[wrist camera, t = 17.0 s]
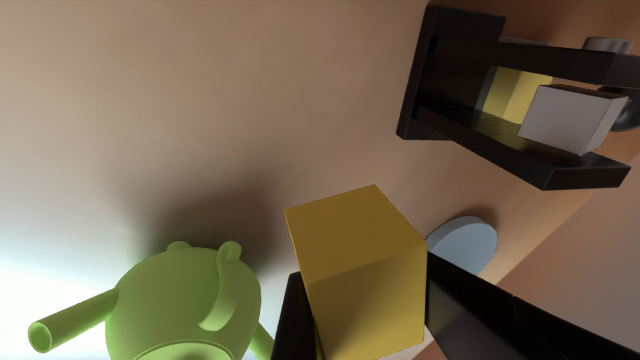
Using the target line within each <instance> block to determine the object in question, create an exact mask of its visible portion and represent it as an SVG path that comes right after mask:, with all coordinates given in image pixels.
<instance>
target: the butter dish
mask: <svg viewBox="0 0 640 360" xmlns="http://www.w3.org/2000/svg"><path fill="white" fill-rule="evenodd" d="M499 42H510V43H520V44H531V45H541V46H548V43H546V42H539V41H533V40H526V39H519V38H512V37H505V36H500V38H499ZM552 79H553V77H551V76H546V75H540V74H535V73H530V72H525V71H519V70H514V69H509V68H503V67H498V66H493V65H490V67H489V70H488V72H487V75H486V78H485V81H484V84H483V86H482V89H481V92H480V95H479V98H478V101H477V103H476V106H475V108H476V109H479V110H481V111H484V112H487V113H489V114H492V115H495V116H497V117H500V118H503V119H505V120H508V121H511V122H513V123H516V124H522V122H523V120H524V118H525V115H526V113H527V111H528V108H529V106H530V104H531V102H532V99H533V97H534V95H535V92H536V90H537V88H538V86H539V85H550V83H551V81H552Z"/></svg>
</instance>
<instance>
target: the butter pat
mask: <svg viewBox="0 0 640 360" xmlns="http://www.w3.org/2000/svg"><path fill="white" fill-rule="evenodd" d="M284 213H285V217H286V221H287V225H288V228H289V232H290V236H291V239H292V243H293V247H294V251H295V254H296V258H297V262H298V265H299V269H300V272H301V275H302V279H303V282H304V286H305V289H306V293H307V296H308V300H309V303H310V307H311V310H312V314H313V317H314V321H315V325H316V329H317V332H318V336H319V340H320V344H321V347H322V351H323V355H324V358H325V360H377V359H380V358H383V357H385V356H388V355H390V354H393V353H396V352H398V351H401V350H404V349H406V348H409V347H411V346H414V345H417V344H419V343H422V342H423V341H424V323H425V298H426V272H427V247H428V245H427V242H426V241H425V240H424V239H423V238H422V237H421V236H420V235H419V233H418V232H417V231H416V230H415V229H414V228H413V227H412V226H411V224H410V223H409V222H408V221H407V220H406V219H405V218H404V217H403V215H402V214H401V213H400V212H399V211H398V210H397V209H396V208H395V206H394V205H393V204H392V203H391V202H390V201H389V200H388V199H387V197H386V196H385V195H384V194H383V193H382V192H381V191H380V190H379V189H378V187H377V186H376V185H375V184H373V185H370V186H366V187H363V188H359V189H356V190H352V191H349V192H345V193H342V194H338V195H335V196H331V197H328V198H324V199H320V200H317V201H313V202H310V203H306V204H303V205H299V206H296V207H292V208H289V209H285V210H284Z"/></svg>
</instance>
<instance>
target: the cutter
mask: <svg viewBox="0 0 640 360" xmlns="http://www.w3.org/2000/svg"><path fill="white" fill-rule="evenodd" d="M506 19H507V17H504V16H498V15H492V14H486V13H481V12H475V11H469V10H463V9H457V8H451V7H445V6H439V5H435V6H426V9H425V14H424V18H423V22H422V26H421V30H420V34H419V39H418V43H417V47H416V51H415V55H414V59H413V64H412V68H411V72H410V76H409V80H408V84H407V88H406V93H405V97H404V101H403V105H402V109H401V113H400V118H399V122H398V126H397V130H396V135H398V136H399V137H400V138H402V139H403V140H445V141H454V142H456V143H458V144H460V145H461V146H463V147H465V148H467V149H469V150H470V151H472V152H474V153H476V154H477V155H479V156H481V157H483V158H485V159H486V160H488V161H490V162H492V163H494V164H495V165H497V166H499V167H501V168H503V169H504V170H506V171H508V172H510V173H512V174H513V175H515V176H517V177H519V178H520V179H522V180H524V181H526V182H528V183H529V184H531V185H533V186H535V187H537V188H538V189H540V190H542V191H552V190H574V189H596V188H618V187H619V186H620V184H621V183H622V181H623V180H624V178H625V177H626V175H627V174H628V172H629V171H630V169H631V167H630V166H628V165H625V164H622V163H620V162H617V161H614V160H612V159H609V158H607V157H604V156H601V155H599V154H596V153H593V152H591V151H590V152H588V153H586V154H584V155H582V156H579V155H576V154H572V153H569V152H566V151H563V150H560V149H556V148H553V147H550V146H547V145H544V144H540V143H537V142H534V141H531V140H528V139H524V138H521V137H518V136H517V134H518V131H519V129H520V127H521V125H519V124H516V123H513V122H511V121H508V120H505V119H503V118H500V117H497V116H495V115H492V114H489V113H487V112H484V111H481V110H479V109H476V108H475V106H476V103H477V101H478V98H479V95H480V92H481V89H482V86H483V84H484V81H485V78H486V75H487V72H488V70H489V67H490V65H493V66H498V67H503V68H509V69H514V70H519V71H525V72H530V73H535V74H540V75H546V76H551V77H556V78H562V79H567V80H572V81H578V82H583V83H588V84H594V85H600V86H610V87H621V88H631V89H640V56H636V55H629V54H628V53H629V51H630V49H631V47H632V46H633V44H634V41H632V40H626V39H617V38H606V37H587V38H586V40H585V42H584V44H583V46H582V48H581V49H573V48H562V47H552V46H541V45H531V44H520V43H510V42H499V38H500V36H501V33H502V30H503V27H504V24H505V21H506Z"/></svg>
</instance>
